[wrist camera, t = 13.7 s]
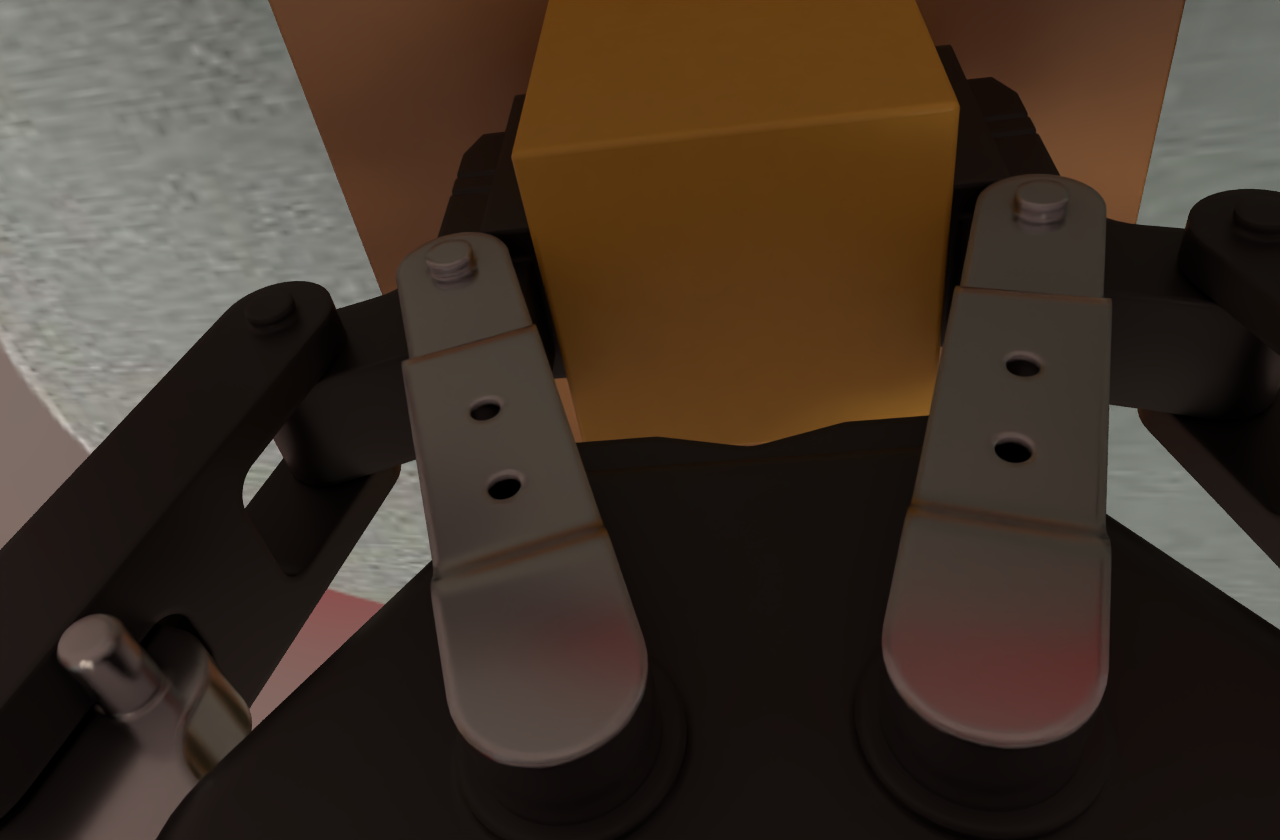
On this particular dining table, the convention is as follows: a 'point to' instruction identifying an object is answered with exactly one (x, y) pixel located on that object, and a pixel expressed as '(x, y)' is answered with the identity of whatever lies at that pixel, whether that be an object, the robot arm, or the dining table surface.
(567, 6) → the block
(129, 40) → the dining table surface
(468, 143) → the cabinet
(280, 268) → the dining table surface
